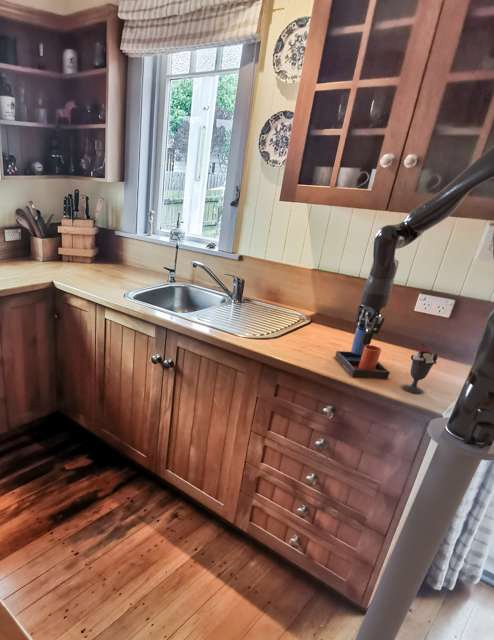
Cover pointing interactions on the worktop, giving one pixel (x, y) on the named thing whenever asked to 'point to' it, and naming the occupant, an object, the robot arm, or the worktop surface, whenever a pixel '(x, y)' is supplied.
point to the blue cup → (358, 341)
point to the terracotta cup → (369, 357)
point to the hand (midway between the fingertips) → (362, 340)
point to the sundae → (420, 368)
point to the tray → (352, 363)
